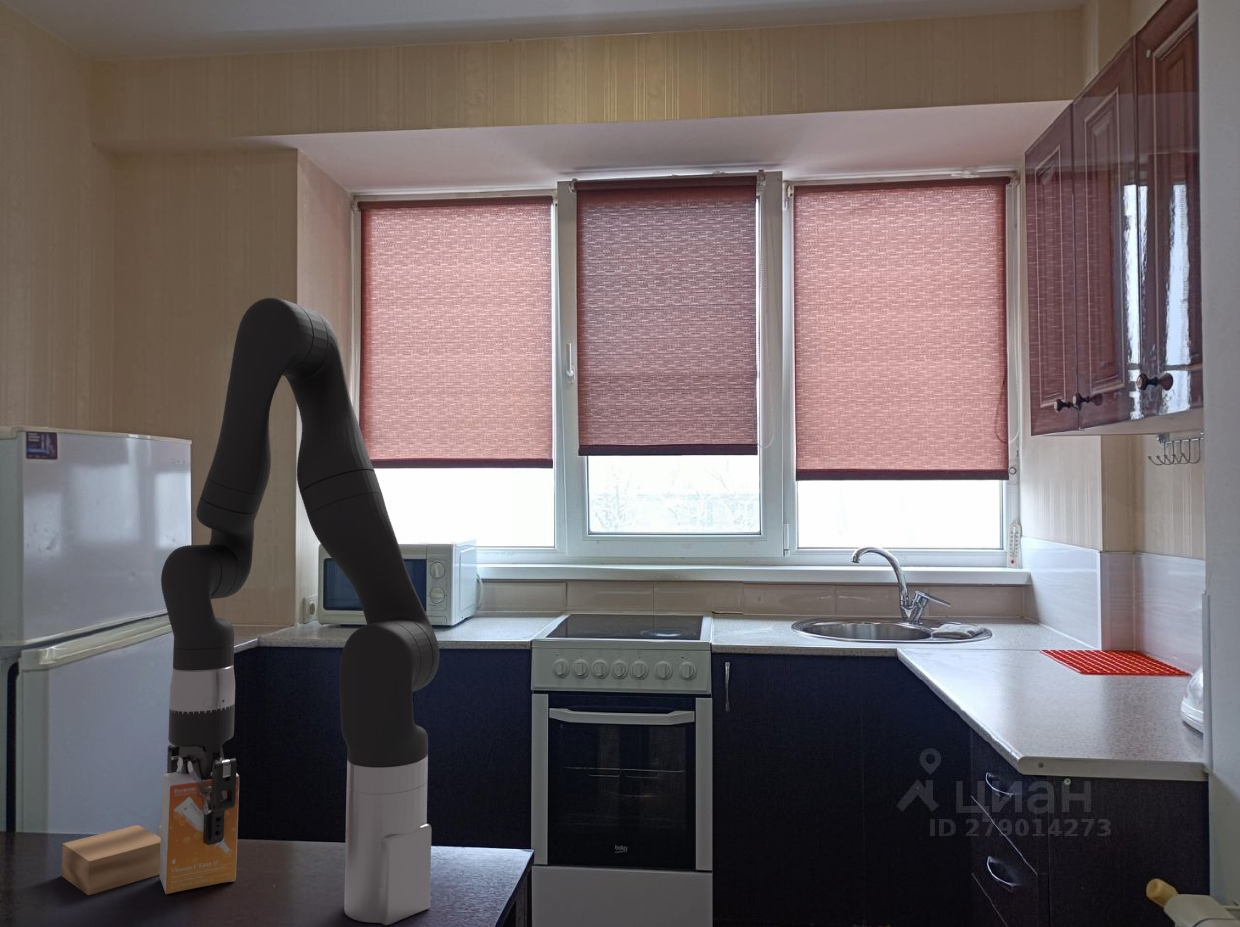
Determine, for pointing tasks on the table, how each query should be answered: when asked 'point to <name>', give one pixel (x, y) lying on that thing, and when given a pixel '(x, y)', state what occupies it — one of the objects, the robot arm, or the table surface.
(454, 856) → the table surface
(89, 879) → the base brick
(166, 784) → the small box
